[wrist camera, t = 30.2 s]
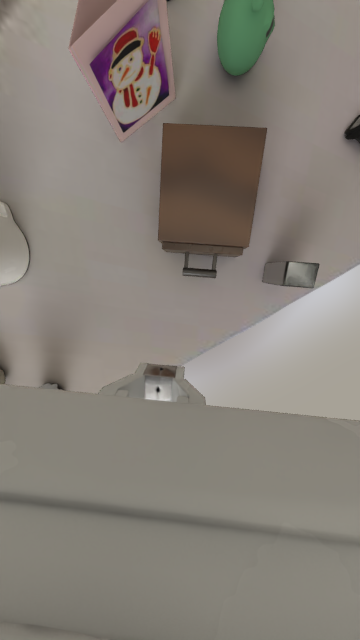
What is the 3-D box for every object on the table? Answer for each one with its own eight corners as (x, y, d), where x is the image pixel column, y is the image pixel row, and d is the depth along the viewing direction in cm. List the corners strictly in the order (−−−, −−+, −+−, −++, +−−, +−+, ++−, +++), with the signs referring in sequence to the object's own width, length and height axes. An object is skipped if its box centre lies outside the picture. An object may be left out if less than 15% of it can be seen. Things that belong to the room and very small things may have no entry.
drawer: (232, 278, 38) (238, 280, 33) (165, 273, 39) (160, 274, 33) (247, 169, 33) (257, 151, 28) (170, 165, 34) (167, 146, 29)
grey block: (284, 284, 39) (313, 288, 29) (261, 282, 39) (283, 286, 30) (288, 264, 38) (319, 263, 28) (265, 263, 38) (288, 260, 29)
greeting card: (123, 147, 34) (73, 57, 20) (99, 104, 33) (26, -27, 18) (178, 103, 32) (167, -33, 18) (154, 55, 31) (121, -135, 16)
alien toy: (266, 78, 31) (301, -9, 21) (219, 97, 32) (231, 22, 22) (258, 22, 29) (292, -100, 20) (209, 44, 30) (217, -62, 21)
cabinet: (238, 251, 38) (248, 246, 31) (164, 245, 38) (157, 240, 31) (251, 156, 34) (267, 127, 27) (168, 152, 34) (163, 122, 27)
